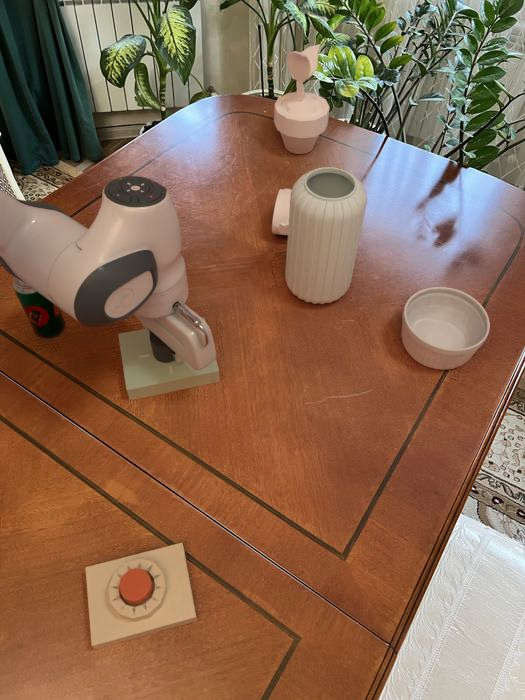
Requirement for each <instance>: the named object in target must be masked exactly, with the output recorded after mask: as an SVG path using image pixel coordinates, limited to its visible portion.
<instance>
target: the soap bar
mask: <svg viewBox="0 0 525 700" xmlns="http://www.w3.org/2000/svg"><path fill="white" fill-rule="evenodd" d="M291 191H292V189H291V188H286V187H285V188H283V189H282V188H280V189H279V190H278V192H277V196H276V199H275V204H274V209H273V214H272V220H271V221H272V222H271V233H272V235H279V236H280V235H281V236H288V227H289V212H290V197H291Z"/></svg>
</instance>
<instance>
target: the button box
mask: <svg viewBox="0 0 525 700" xmlns="http://www.w3.org/2000/svg"><path fill="white" fill-rule="evenodd" d="M187 561H188V560H187V556H186V551H185V546H184V543H183V542H179V543H175V544H171V545H167V546H162V547H159V548H155V549H151V550H147V551H144V552H140V553H135V554H132V555H127V556H124V557H121V558H120V557H119V558H116V559H112V560H109V561H104V562H100V563H97V564H93V565H89V566H85V581H86V593H87V605H88V619H89V633H90V644H91V647H92V648H93V649H95V650H100V649H103V648H107V647H110V646H115V645H117V644H122V643H125V642H129V641H132V640H136V639H139V638H142V637H146V636H150V635H154V634H157V633H160V632H165V631H168V630H170V629H174V628H177V627H182V626H185V625H189V624H193V623H196V622H198V616H197V612H196V611H197V610H196V605H195V600H194V595H193V589H192V584H191V578H190V573H189V568H188V562H187ZM135 568H140V569H143V570H145V571H146V572H147V573H148V574H149V576H150V578H151V580H152V583H153V590H152V593H151V595H150V597H149V598H148V599H147V600H146V601H145V602H143V603H141V604H130V603H128V602H127V601H126V600H125V599H124V598H123V596H122V595H121V593H120V589H119V584H120V581H121V578H122V577H123V575H124V574H125V573H126V572H127V571H129V570H131V569H135Z"/></svg>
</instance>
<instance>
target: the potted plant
mask: <svg viewBox="0 0 525 700" xmlns="http://www.w3.org/2000/svg"><path fill="white" fill-rule="evenodd" d="M321 50H322V41H320V42H319V43H318V44H315V45H312V46H308V47H307V48H305V49H304V50H302V51H301V52H300V51H297V50H294V51H292V52H290V53H288V54H287V57H286V62H285V63H286V65H287V67H288V70H289V74H290V76H291V78H292V79H293V80H295V81H296V82H295V83H296V91H293V92H287V93H286V94H284V95H281V96H279V97H278V98H277V100H276V101H275V103H274V105H273V123H274V125H275V128H276V130H277V131H278V132H280V136H281V139H282V142H283V145H284V148H285V150H286V151H288V152H289V153H291V154H295V155H305V154H308V153H310V152H312V151H313V149H314V147H315V145H316V143H317V141H318V138H319V136H320V135H321V134H323V133H325V132H326V129H327V128H328V124H329V118H330V117H329V116H330V105H329V103H328V101H327V99H326V98H324V97H322V96H321V95H319V94H317V93H313V92H307V91H305V85H304V83H305V82H306V81H307V80H308V79H310V78H311V77H312V75H314V74H315V72H316V71H317V70H318V61H319V58H320V57H321V56H320V55H321ZM324 67H325V66H324V64H322V67H321V69H322V70H324Z"/></svg>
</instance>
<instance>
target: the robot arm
mask: <svg viewBox="0 0 525 700" xmlns="http://www.w3.org/2000/svg"><path fill="white" fill-rule="evenodd" d="M101 193H102V194H101V203H100V207H99V210H98V212H97V214H96V216H95V218H94V220H93V222H92V224H91V225H90V227H89V228H87V227H86V226H85V225H83V224H81V223H80V222H78V221H76V220H75V219H74V218H73V217H72V216H70V215H69V214H68V213H66V212H65V211H64V210H62V209H61V208H60V207H58V206H57V205H55V204H52V203H50V202H49V203H48V202H45V201H44V202H43V201H36V200H25V199H24V200H23V199H18V198H15V197H13V196H12V195H10V194H9V193H7V192H5V191H3V190H2V189H0V265H1V267H2V268H3V270H5V271H6V272H7V273H8V274H10V275H11V276H13V278H14V277H16V278H18V279H19V280H21V281H23V282H24V283H26V284H28V285H29V286H30V287H32V288H33V289H35V290H36V291H37V292H39V293H40V294H41V295H43V296H44V297H45V298H47V299H48V300H49V301H51V302H52V303H54V304H55V305H56V306H57V307H59V308H60V310H61V311H63V312H64V313H66V314H67V315H69V316H70V317H71V318H73V320H75V321H77V322H79V324H81V325H82V326H84V327H86V328H93V329H98V328H105V327H109V326H113V325H114V324H116V323H119V322H121V321H123V320H125V319H126V318H128V317H131V315H132V316H134V317H135V318H136V319H137V320H138V321H139V322H140V323H141V324H142V326H143V328H144V329H146V330H147V334H148V336H149V337H150V333H151V331H152V332H153V333H154V334H155V335H156V336H157V337H158V338H160V339H161V340H162V341H163V342H164V343H165V344H166V345H167V346H169V347H170V348H171V349H172V350H173V351H172V352H171V355H172V358H173V359H174V360H175V361H176V362H177V363H181V362H183V361H185V362H187V363H188V364H189V365H190V366H191V367H192V368H193V369H194V370H201V369H203V368H205V367H206V366H208V365H209V364H210V363H211V362H213V361H214V360H215V358H216V359H217V349H216V345H215V344H216V343H215V340H214V336H213V333H212V330H211V328H210V326H209V325H208V323H207V321H206V322H205V321H204V320H203V319H202V318H203V317H201V316H200V315H199V314H197V313H196V312H195V311H194V310H193V309H192V308H190V307H189V306H188V305H187V304H185V303H186V302H187V300H188V297H189V294H190V290H189V282H188V275H187V267H186V262H185V259H184V257H183V255H182V253H181V251H182V247H183V239H182V238H183V237H182V230H181V224H180V220H179V219H180V218H179V215H178V211H177V207H176V204H175V202H174V199H173V197H172V195H171V193H170V192H169V190H168V189H167V188H166V187H165V186H164V185H162V184H160V183H159V182H158V181H155V180H153V179H152V178H149V177H145V176H139V175H138V176H137V175H125V176H120V177H117V178H114V179H112V180H110V181H108V182H107V183H106V184H105V185H104V187H103V189H102V192H101ZM84 226H85V227H84Z"/></svg>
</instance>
